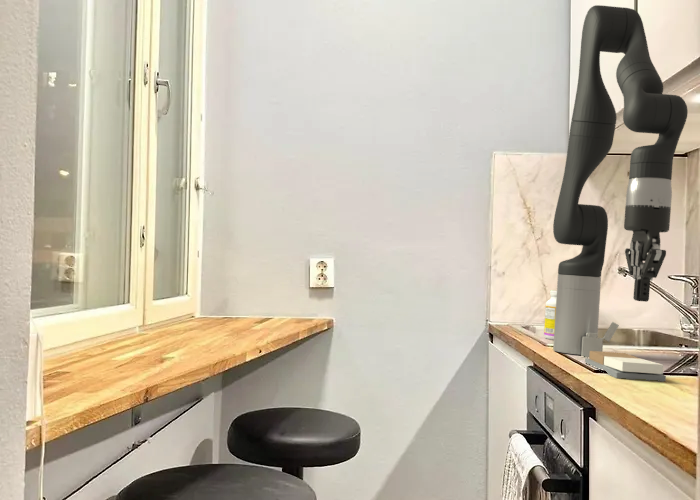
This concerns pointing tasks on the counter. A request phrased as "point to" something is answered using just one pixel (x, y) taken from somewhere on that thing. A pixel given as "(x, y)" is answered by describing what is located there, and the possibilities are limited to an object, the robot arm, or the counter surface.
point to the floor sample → (598, 361)
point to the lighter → (596, 340)
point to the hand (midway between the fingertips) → (640, 300)
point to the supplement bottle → (550, 316)
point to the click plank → (633, 365)
